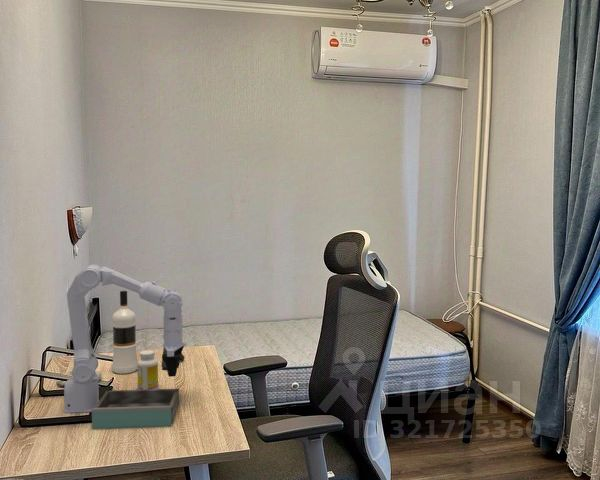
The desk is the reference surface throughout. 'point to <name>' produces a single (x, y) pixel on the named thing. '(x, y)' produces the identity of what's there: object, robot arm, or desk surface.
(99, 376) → the game controller
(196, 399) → the desk surface
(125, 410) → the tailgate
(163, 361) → the hand grip strengthener
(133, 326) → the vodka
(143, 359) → the supplement bottle
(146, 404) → the box
